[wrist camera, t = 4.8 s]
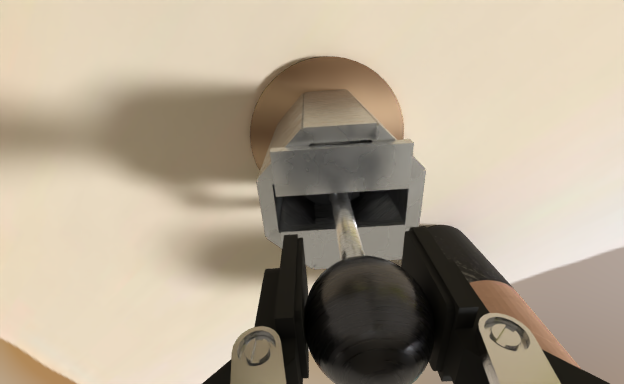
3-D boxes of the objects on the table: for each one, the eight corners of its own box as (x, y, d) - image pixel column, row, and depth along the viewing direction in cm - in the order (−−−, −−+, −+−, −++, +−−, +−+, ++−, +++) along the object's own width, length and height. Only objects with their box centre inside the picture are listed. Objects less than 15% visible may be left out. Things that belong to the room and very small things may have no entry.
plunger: (287, 127, 20) (245, 310, 6) (375, 121, 20) (532, 293, 6) (295, 203, 22) (278, 449, 9) (372, 198, 22) (476, 439, 9)
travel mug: (404, 280, 35) (506, 522, 17) (399, 230, 32) (518, 465, 14) (468, 269, 35) (642, 508, 17) (470, 216, 31) (690, 444, 13)
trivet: (239, 62, 24) (237, 62, 23) (408, 50, 24) (410, 50, 23) (262, 208, 30) (261, 211, 30) (396, 200, 30) (397, 202, 30)
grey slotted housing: (273, 94, 24) (245, 134, 13) (377, 87, 24) (437, 122, 13) (287, 211, 30) (275, 311, 18) (372, 206, 30) (413, 303, 18)
